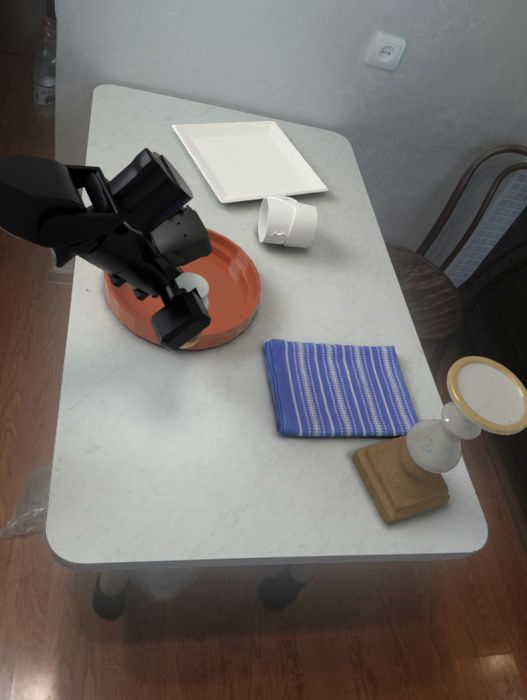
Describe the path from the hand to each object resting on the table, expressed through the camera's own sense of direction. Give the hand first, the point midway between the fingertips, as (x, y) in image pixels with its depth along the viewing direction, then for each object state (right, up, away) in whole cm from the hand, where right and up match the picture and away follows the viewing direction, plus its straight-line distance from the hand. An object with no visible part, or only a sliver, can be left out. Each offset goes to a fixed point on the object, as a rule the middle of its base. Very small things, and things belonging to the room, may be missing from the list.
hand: (196, 301), depth 72 cm
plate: (+6, +34, +46) cm, 57 cm away
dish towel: (+21, -13, +14) cm, 28 cm away
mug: (+12, +16, +34) cm, 40 cm away
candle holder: (+28, -26, +7) cm, 39 cm away
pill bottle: (-3, -4, +5) cm, 7 cm away
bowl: (-5, +3, +18) cm, 19 cm away
